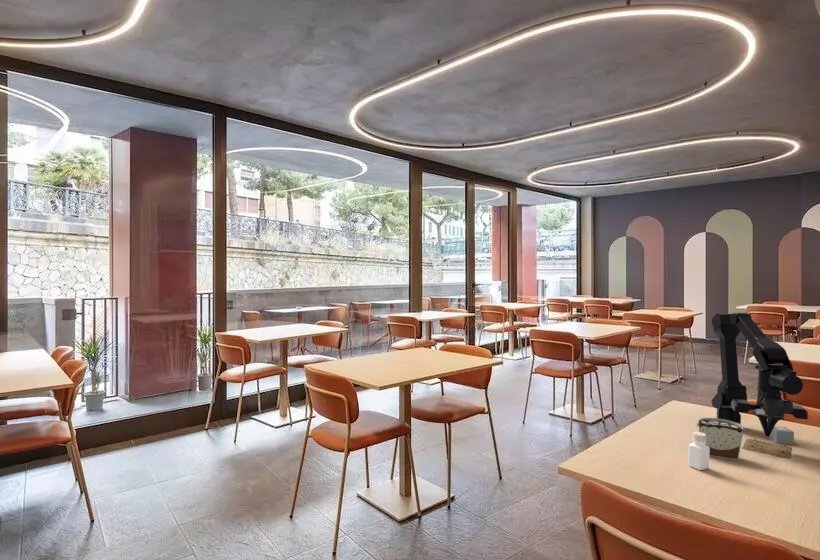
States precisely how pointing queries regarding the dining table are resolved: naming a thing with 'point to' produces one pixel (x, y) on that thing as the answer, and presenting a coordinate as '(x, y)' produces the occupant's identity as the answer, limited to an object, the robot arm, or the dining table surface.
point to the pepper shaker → (698, 452)
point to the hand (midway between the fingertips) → (767, 436)
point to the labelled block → (782, 435)
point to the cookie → (767, 448)
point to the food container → (722, 437)
